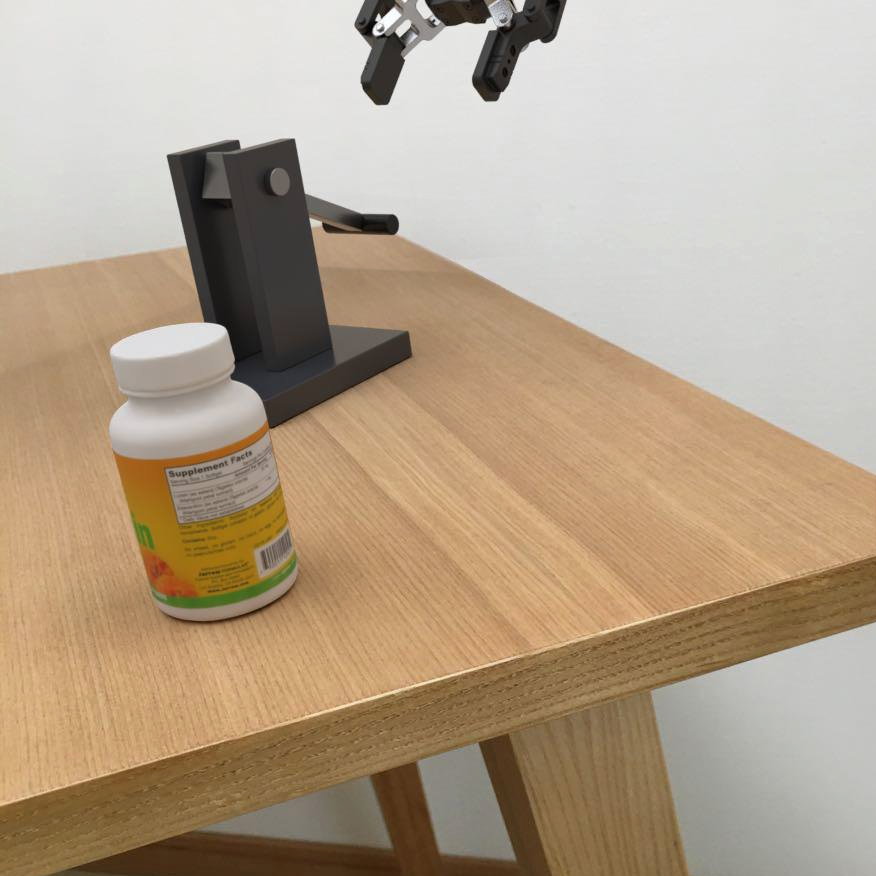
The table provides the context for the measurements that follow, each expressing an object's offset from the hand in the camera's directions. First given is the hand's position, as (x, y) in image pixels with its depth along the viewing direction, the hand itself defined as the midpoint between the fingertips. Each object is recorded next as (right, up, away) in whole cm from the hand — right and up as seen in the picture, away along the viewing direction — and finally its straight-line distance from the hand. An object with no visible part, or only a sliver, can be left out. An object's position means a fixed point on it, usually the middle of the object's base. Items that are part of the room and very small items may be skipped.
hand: (427, 95), depth 76 cm
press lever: (-7, -10, -8) cm, 15 cm away
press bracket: (-8, -19, -7) cm, 22 cm away
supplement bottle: (-5, -30, -30) cm, 43 cm away
